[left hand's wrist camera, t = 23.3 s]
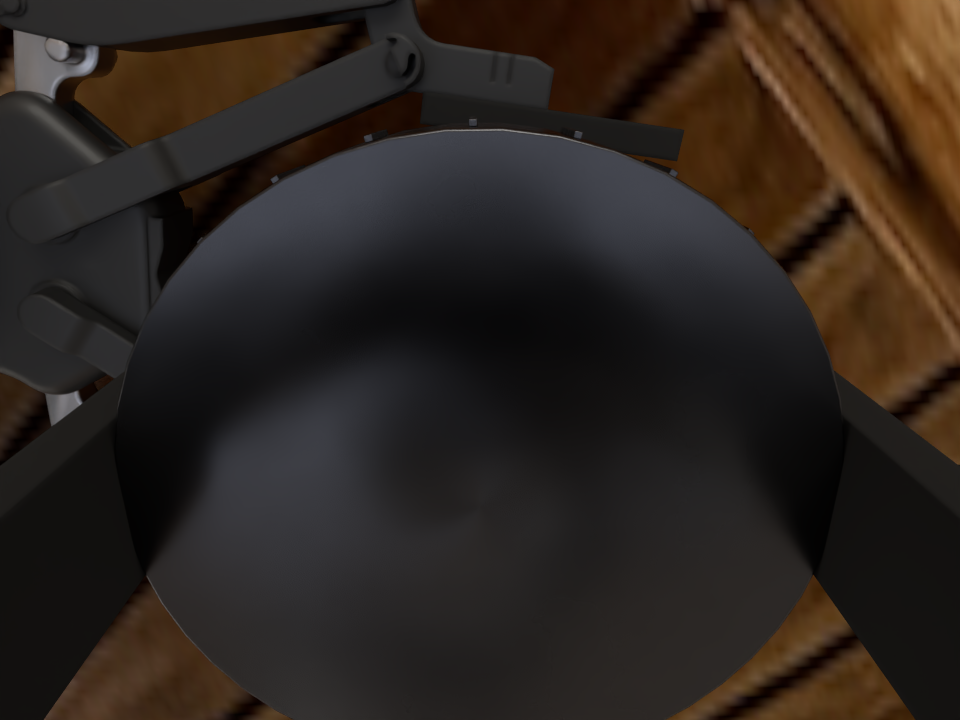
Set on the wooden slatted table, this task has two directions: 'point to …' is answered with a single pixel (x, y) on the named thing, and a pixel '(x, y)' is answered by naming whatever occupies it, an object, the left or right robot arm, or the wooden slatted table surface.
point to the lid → (479, 435)
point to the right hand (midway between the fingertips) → (624, 326)
